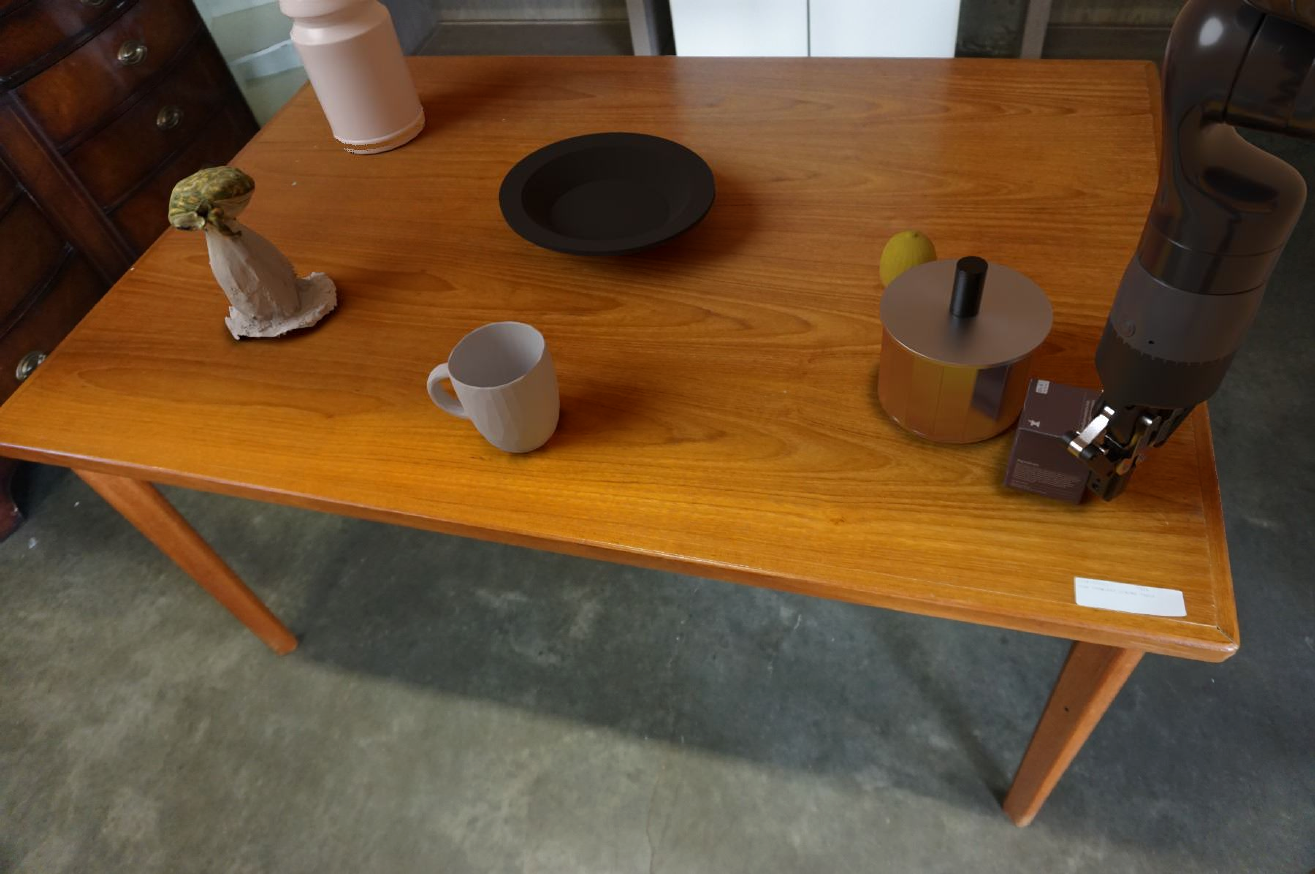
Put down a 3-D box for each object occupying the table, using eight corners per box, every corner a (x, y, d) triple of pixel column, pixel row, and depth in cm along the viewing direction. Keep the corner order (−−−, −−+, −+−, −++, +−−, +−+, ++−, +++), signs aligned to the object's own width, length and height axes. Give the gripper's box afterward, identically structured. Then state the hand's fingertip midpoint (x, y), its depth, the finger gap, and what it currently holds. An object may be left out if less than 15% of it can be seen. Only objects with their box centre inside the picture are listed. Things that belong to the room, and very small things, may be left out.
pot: (1054, 401, 75) (1080, 320, 68) (944, 466, 72) (960, 388, 65) (952, 327, 83) (966, 248, 76) (849, 383, 80) (854, 305, 73)
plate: (763, 217, 100) (761, 175, 96) (618, 322, 90) (609, 281, 86) (608, 151, 115) (600, 112, 111) (469, 235, 105) (456, 196, 101)
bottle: (319, 149, 126) (224, -53, 106) (376, 105, 134) (299, -91, 114) (390, 161, 121) (305, -50, 100) (445, 115, 129) (377, -90, 108)
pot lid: (1088, 326, 68) (1106, 271, 64) (958, 400, 65) (969, 346, 61) (965, 249, 77) (974, 196, 73) (845, 310, 73) (848, 258, 69)
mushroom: (326, 338, 95) (248, 197, 81) (217, 354, 95) (121, 216, 82) (345, 275, 103) (276, 137, 89) (244, 290, 103) (161, 155, 90)
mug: (579, 398, 83) (557, 321, 76) (556, 467, 77) (529, 391, 70) (461, 393, 86) (429, 318, 78) (430, 459, 80) (392, 385, 73)
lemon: (937, 311, 85) (947, 245, 79) (881, 316, 85) (887, 251, 80) (926, 277, 89) (935, 212, 83) (873, 282, 89) (878, 218, 83)
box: (1078, 507, 67) (1102, 448, 62) (1000, 487, 69) (1017, 428, 64) (1089, 453, 71) (1113, 392, 65) (1014, 435, 73) (1031, 375, 67)
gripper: (1154, 397, 48) (1081, 564, 61) (1305, 305, 52) (1206, 482, 64) (1051, 330, 53) (1003, 498, 66) (1196, 251, 56) (1124, 425, 69)
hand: (1104, 490), depth 65 cm, fingers closed
